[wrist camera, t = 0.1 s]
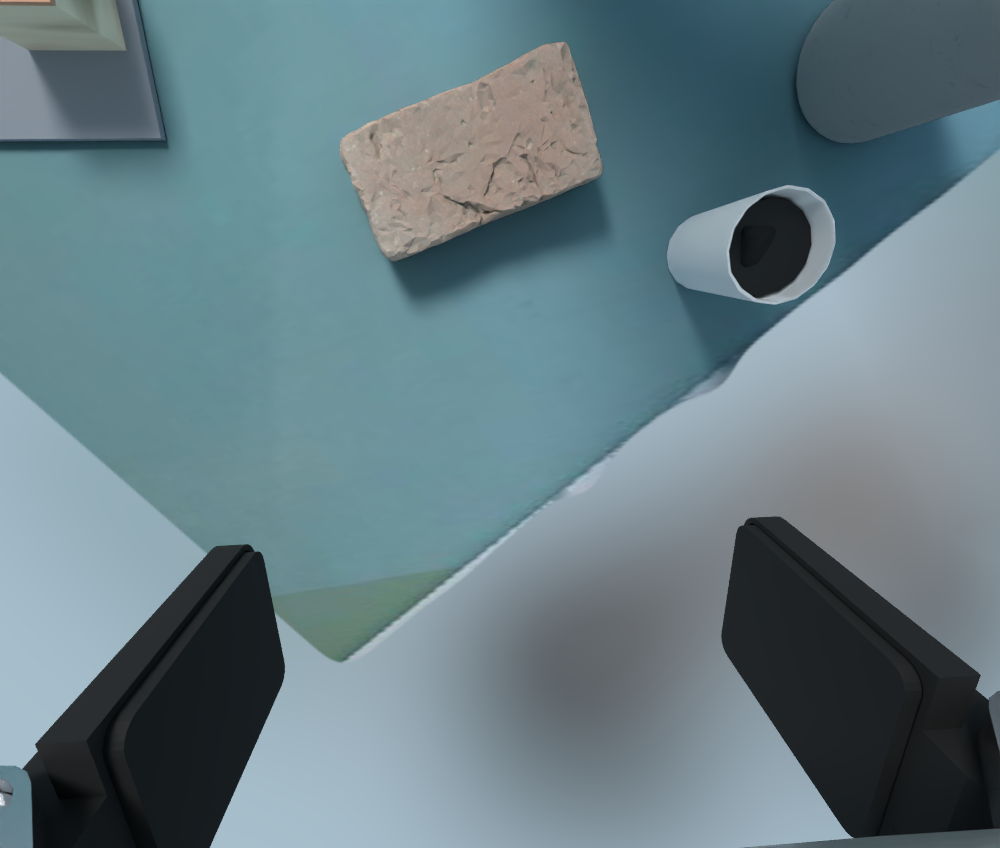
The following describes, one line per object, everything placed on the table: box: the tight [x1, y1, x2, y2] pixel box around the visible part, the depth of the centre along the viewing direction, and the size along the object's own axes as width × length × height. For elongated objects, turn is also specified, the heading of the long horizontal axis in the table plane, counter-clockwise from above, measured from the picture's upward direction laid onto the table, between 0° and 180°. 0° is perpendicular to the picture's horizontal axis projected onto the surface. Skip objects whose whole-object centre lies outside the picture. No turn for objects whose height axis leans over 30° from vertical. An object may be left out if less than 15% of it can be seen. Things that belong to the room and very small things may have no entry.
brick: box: [340, 42, 603, 261], centre depth 33 cm, size 16×8×5 cm, turn 111°
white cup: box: [667, 185, 836, 305], centre depth 33 cm, size 7×7×10 cm
